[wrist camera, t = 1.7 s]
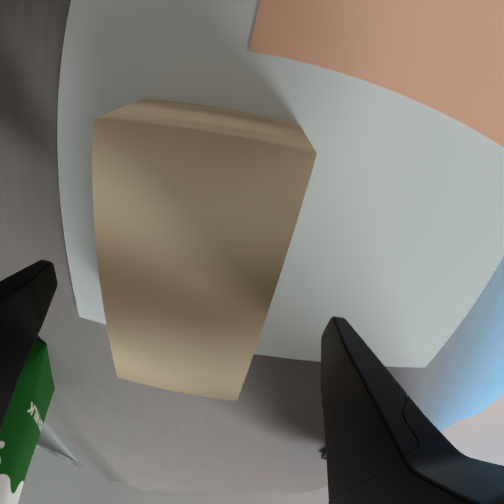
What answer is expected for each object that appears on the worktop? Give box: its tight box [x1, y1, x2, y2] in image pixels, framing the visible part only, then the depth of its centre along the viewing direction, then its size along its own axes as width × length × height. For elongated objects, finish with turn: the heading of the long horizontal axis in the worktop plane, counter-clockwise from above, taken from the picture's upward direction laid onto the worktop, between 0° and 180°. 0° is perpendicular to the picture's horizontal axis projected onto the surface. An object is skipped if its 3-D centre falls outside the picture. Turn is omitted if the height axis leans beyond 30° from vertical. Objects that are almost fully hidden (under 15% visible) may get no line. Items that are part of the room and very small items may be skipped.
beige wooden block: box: [92, 99, 317, 402], centre depth 10 cm, size 10×5×4 cm, turn 169°
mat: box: [57, 0, 504, 367], centre depth 9 cm, size 24×20×1 cm
